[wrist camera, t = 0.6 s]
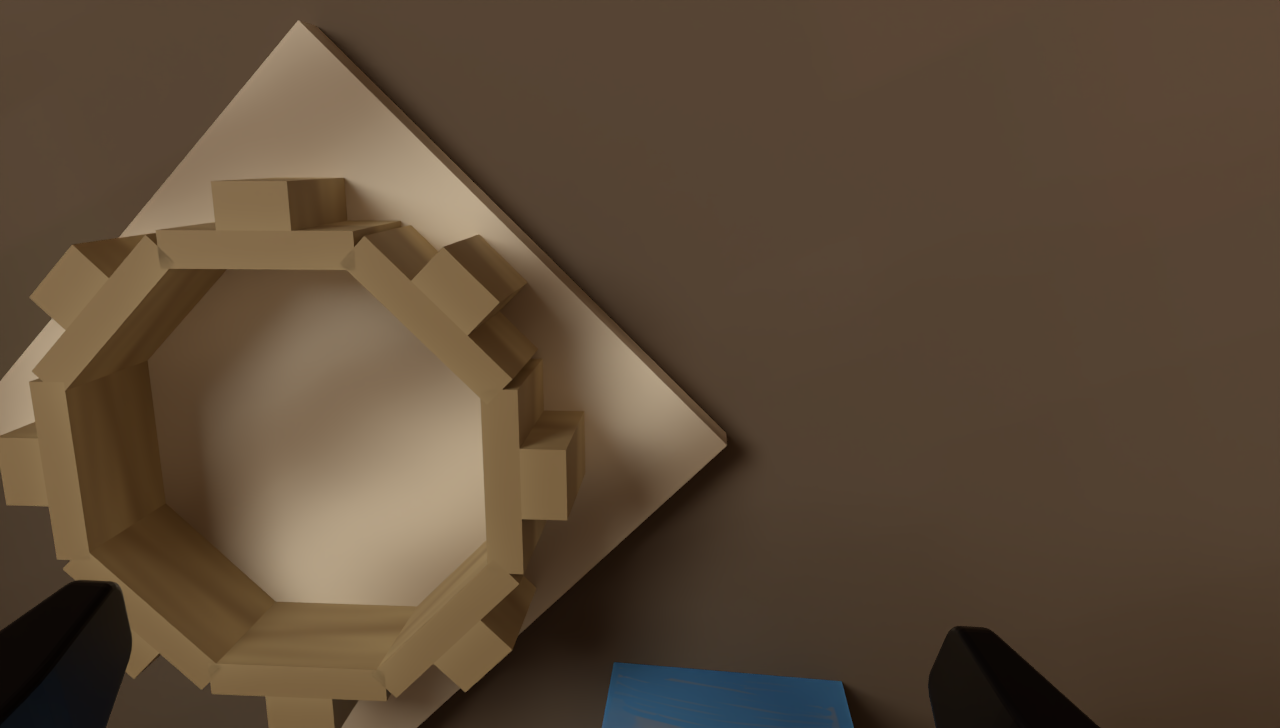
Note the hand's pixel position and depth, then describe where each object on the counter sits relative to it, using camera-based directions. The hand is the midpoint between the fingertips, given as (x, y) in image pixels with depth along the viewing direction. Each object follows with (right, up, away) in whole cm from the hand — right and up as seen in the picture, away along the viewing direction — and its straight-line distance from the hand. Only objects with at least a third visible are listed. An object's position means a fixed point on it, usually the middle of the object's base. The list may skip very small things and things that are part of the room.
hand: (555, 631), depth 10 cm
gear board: (-7, +1, +14) cm, 15 cm away
